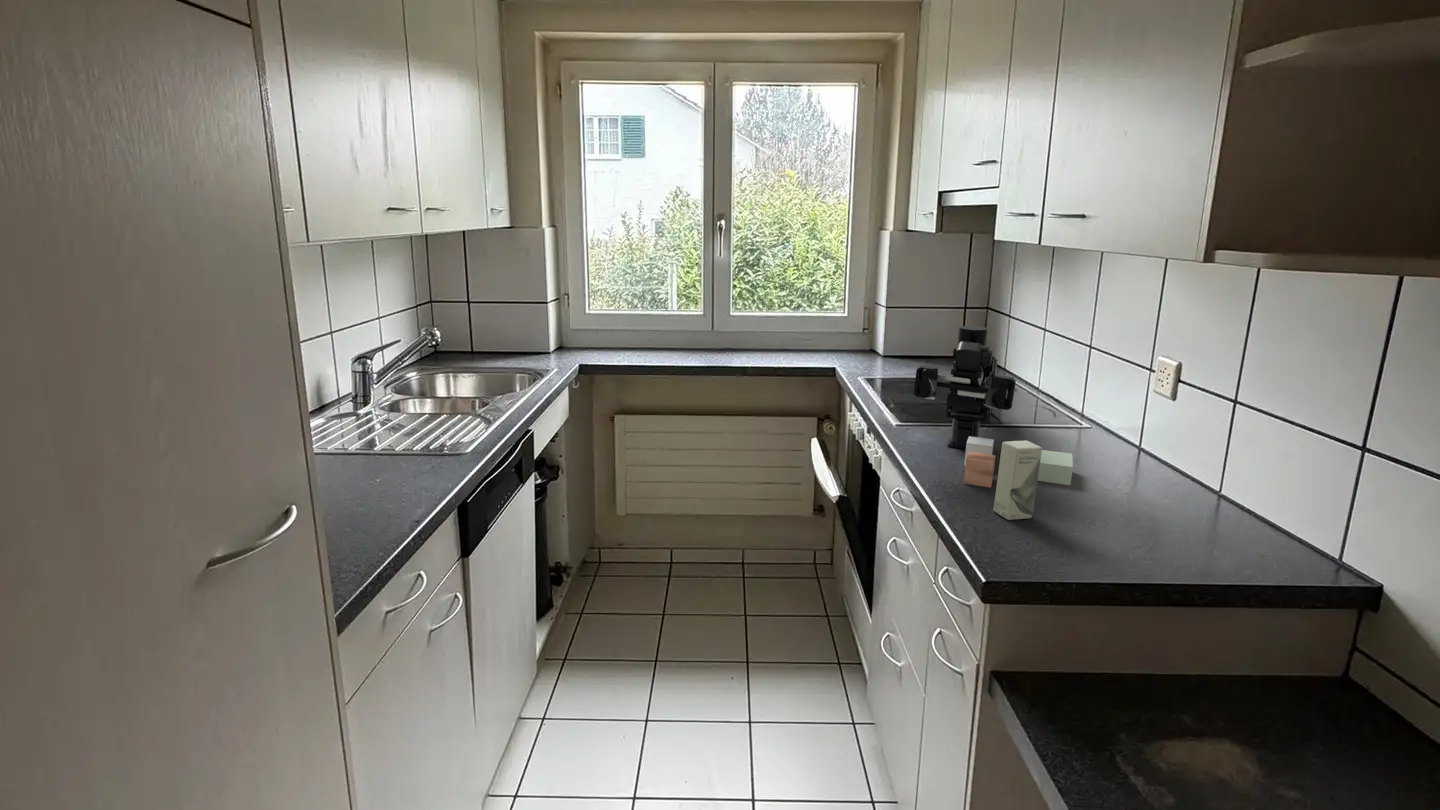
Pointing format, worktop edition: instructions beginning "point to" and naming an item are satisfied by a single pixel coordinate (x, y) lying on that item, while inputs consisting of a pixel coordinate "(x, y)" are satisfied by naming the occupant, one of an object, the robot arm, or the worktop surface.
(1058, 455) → the sage base block
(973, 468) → the terracotta cube
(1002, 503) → the box
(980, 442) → the grey cube
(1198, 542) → the worktop surface
